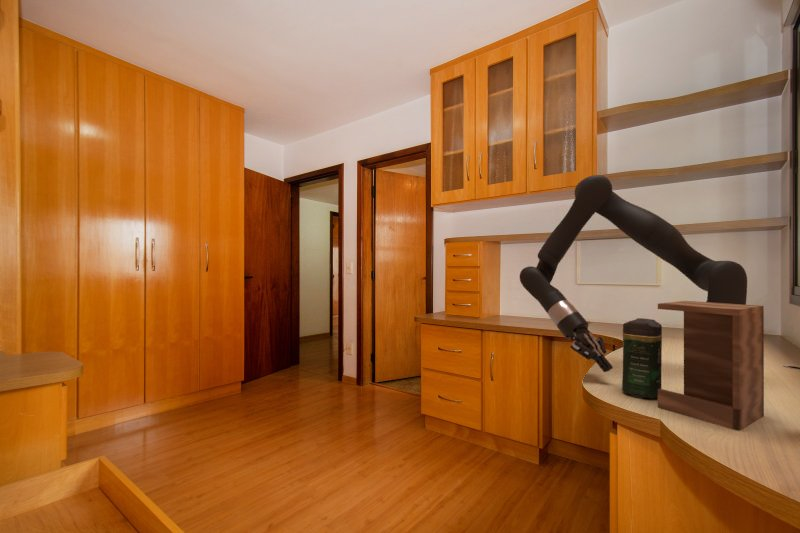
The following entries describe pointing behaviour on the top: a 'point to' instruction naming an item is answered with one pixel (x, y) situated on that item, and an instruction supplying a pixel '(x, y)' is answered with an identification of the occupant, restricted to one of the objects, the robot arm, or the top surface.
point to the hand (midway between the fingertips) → (609, 370)
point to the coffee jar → (642, 358)
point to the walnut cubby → (720, 363)
